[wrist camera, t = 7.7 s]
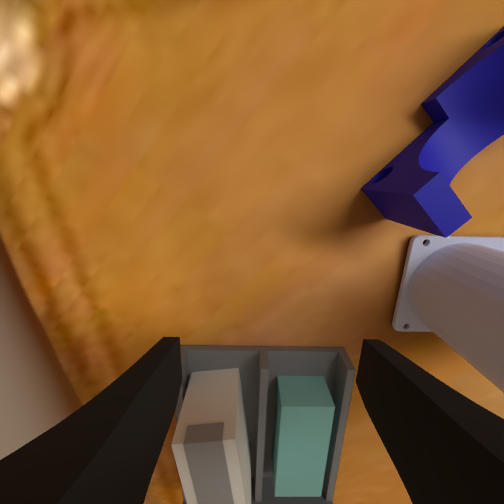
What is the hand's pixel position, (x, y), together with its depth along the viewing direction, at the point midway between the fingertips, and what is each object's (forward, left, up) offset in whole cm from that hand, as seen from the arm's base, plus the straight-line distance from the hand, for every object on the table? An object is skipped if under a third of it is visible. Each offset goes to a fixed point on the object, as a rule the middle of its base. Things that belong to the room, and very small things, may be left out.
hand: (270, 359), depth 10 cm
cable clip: (-12, -10, -10) cm, 18 cm away
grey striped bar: (+3, +14, -9) cm, 17 cm away
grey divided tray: (0, +15, -10) cm, 18 cm away
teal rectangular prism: (-4, +15, -9) cm, 18 cm away
